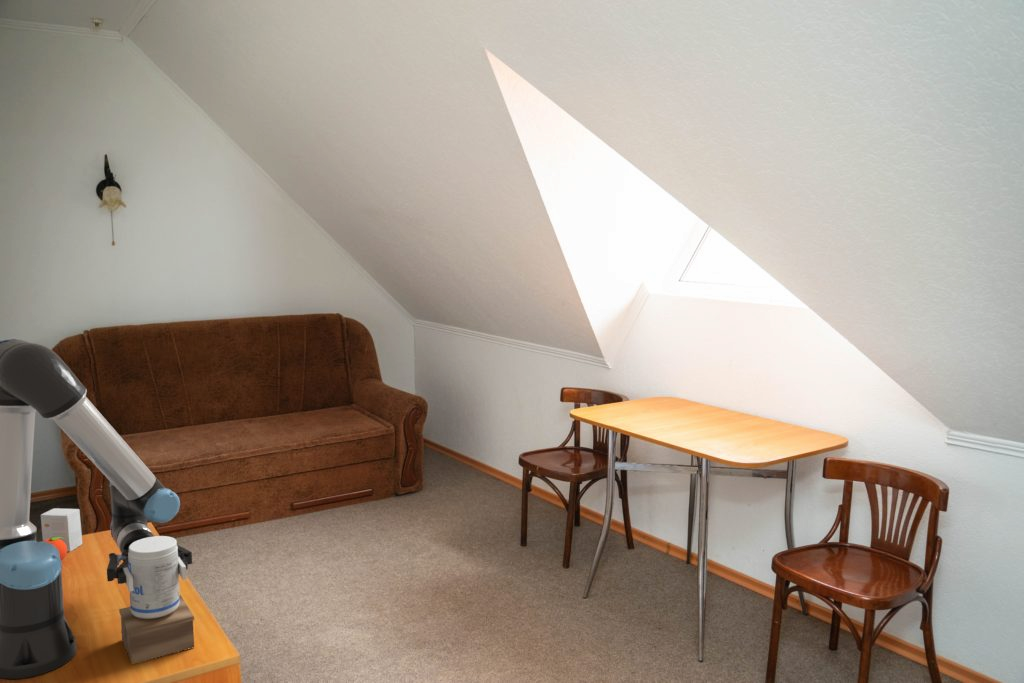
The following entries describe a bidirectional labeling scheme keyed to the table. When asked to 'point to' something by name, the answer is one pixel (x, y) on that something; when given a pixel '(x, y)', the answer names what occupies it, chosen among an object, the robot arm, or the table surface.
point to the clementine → (59, 546)
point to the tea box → (157, 633)
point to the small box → (62, 526)
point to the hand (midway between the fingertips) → (158, 578)
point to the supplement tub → (154, 576)
